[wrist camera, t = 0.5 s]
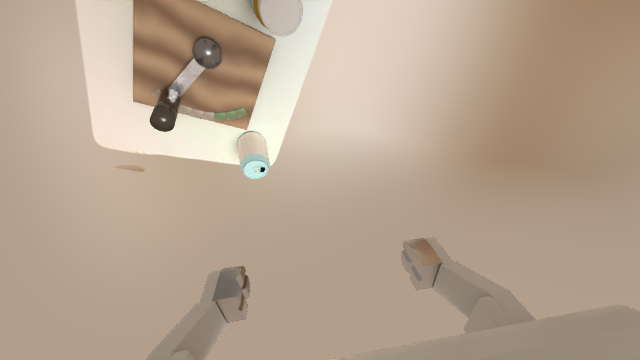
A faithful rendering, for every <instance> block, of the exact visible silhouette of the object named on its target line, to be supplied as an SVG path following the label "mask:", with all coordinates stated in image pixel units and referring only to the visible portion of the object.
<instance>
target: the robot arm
mask: <svg viewBox="0 0 640 360" xmlns="http://www.w3.org/2000/svg"><path fill="white" fill-rule="evenodd" d="M403 247H404V250H403V251H402V254H401V259H402V264H403V266H404V268H405V270H406V271H407V272H409V273H410V280H411V281H412V283H413V285H414V287H415V289H416V290H419V289H427V288H433V289H434V290H435V291H436V292H438V293H439V294H440V295H441V296H443V297H444V298H445V299H446V300H447V301H449V302H450V303H451V304H452V305H454V306H455V307H456V308H457V309H458V310H460V311H461V312H462V313H463V314H465V315H466V316H467V317H468V318H469V319H468V320H467V322H466V324H465V326H464V330H465V332H466V333H465V334H460V335H455V336H449V337H444V338H439V339H434V340H429V341H423V342H418V343H413V344H408V345H402V346H397V347H392V348H387V349H381V350H376V351H371V352H366V353H361V354H355V355H350V356H345V357H340V358H334V359H329V360H640V311H638V310H636V309H633V308H630V307H628V306H624V305H611V306H606V307H601V308H596V309H591V310H585V311H580V312H575V313H570V314H564V315H559V316H555V317H549V318H544V319H538V320H536V319H535V318H534V317H533V316H532V315H531V314H530V313H529V312H528V311H527V309H526V308H525V307H524V306H523V305H522V304H521V303H520V302H519V301H518V300H517V299H516V297H515V296H514V295H513V294H512V293H511V292H510V291H508V290H507V289H505V288H503V287H501V286H500V285H498V284H496V283H494V282H492V281H491V280H489V279H487V278H485V277H484V276H482V275H480V274H478V273H476V272H475V271H473V270H471V269H469V268H468V267H466V266H464V265H462V264H460V263H459V262H454V261H453V260H452V259H451V257H450V256H449V255H448V254H447V252H446V251H445V250H444V248H443V247H442V246H441V245H440V243H439V242H438V241H437V239H436V238H435V237H428V238H420V239H414V240H408V241H405V242H404V243H403ZM245 272H246V270H245V267H244V266H240V267H231V268H223V269H216V270H211V271H210V273H209V275H208V278H207V281H206V284H205V287H204V290H203V293H202V296H201V299H200V302H199V304H195V306H194V307H193V308H192V309H191V310H190V311H189V312H188V313H187V314H186V315H185V316H184V317H183V319H182V320H181V321H180V322H179V323H178V324H177V325H176V326H175V327H174V329H172V330H171V331H170V333H169V334H168V335H167V336H166V337H165V338H164V339H163V340H162V341H161V342H160V343H159V344H158V345H157V347H156V348H155V349H154V350H153V351H152V352H151V353H150V354H149V355H148V357H147V359H146V360H204V359H205V358H206V356H207V355H208V353H209V352H210V350H211V349H212V347H213V346H214V344H215V343H216V341H217V339H218V338H219V336H220V335H221V333H222V332H223V330H224V329H225V327H226V326H227V323H229V322H234V321H239V320H244V319H246V315H247V308H248V304H247V301H246V299H247V298H248V297H249V293H250V282H249V278H248V276H247V275H245Z"/></svg>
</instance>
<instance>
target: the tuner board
mask: <svg viewBox="0 0 640 360" xmlns="http://www.w3.org/2000/svg"><path fill="white" fill-rule="evenodd" d="M200 37H208V38H211V39H213V40H214V41H215V42H216V43H217V44H218V45H219V46H220V48H221V52H222V61H221V63H220V65H219V66H218V67H216V68H214V69H207V68H205V69H204V70H203V72H202V73H201V74H200V75H199V76H198V77H197V79H196V80H195V81H194V82H193V83H192V84H191V85H190V87H189V88H188V89H187V90H186V91H185V92H184V94H183V95H182V96H181V102H180V106H179V110H178V113H182V114H186V115H188V116H189V115H190V116H192V117H196V118H200V119H205V120H210V121H214V122H217V123H221V124H225V125H229V126H233V127H237V128H241V129H245V130H247V127H248V124H249V121H250V118H251V115H252V112H253V109H254V106H255V103H256V99H257V96H258V93H259V90H260V87H261V84H262V81H263V78H264V75H265V72H266V69H267V66H268V62H269V59H270V56H271V53H272V50H273V47H274V44H275V41H276V40H275V39H274V38H272V37H270V36H268V35H266V34H264V33H262V32H260V31H258V30H256V29H254V28H251V27H249V26H247V25H245V24H243V23H241V22H239V21H237V20H235V19H233V18H231V17H229V16H227V15H225V14H222V13H220V12H218V11H216V10H214V9H212V8H210V7H208V6H206V5H204V4H202V3H200V2H198V1H195V0H134V17H133V101H134V102H138V103H142V104H146V105H150V106H154V107H155V105H156V103H157V100H158V98H159V95H160V93H161V91H162V90H164V89H167V88H168V87H169V86H170V85H171V84H172V82H173V81H174V80H175V79H176V78H177V76H178V75H179V74H180V73H181V71H182V70H183V69H184V68H185V67H186V65H187V64H188V63H189V62H190V61H191V59H192V58H193V53H192V48H193V45H194V42H195V41H196V40H197V39H198V38H200Z"/></svg>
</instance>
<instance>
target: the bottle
mask: <svg viewBox="0 0 640 360" xmlns="http://www.w3.org/2000/svg"><path fill="white" fill-rule="evenodd" d="M250 3H251V6H252V8H253V10H254V12H255V14H256V16H257V18H258V19H259V21H260V22H261V23H262V25H264V26H265V27H266V28H267V29H268V30H270V32H272V33H274V34H276V35H279V36H288V35H290V34H292V33H294V32H295V31H296V30H297V29H298V27H299V25H300V23H301V20H302V15H303V8H302V3H301V0H250Z"/></svg>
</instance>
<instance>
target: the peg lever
mask: <svg viewBox="0 0 640 360" xmlns="http://www.w3.org/2000/svg"><path fill="white" fill-rule="evenodd" d="M192 53H193V58H192V59H191V61H190V62H189V63H188V64H187V65H186V67H185V68H184V69H183V70H182V71H181V73H180V74H179V75H178V76H177V78H176V79H175V80H174V81H173V82H172V84H171V85H170V86H169V87H168V88H167V89H164V90H162V91H161V93H160V95H159V98H158V100H157V103H156V105H155V107H154V110H153V112H152V115H151V117H150V123H151V125H152V126H153V127H154V128H155V129H157V130H159V131H163V132H167V131H170V130H172V129H173V128H174V125H175V121H176V118H177V114H178V110H179V106H180V102H181V96H182V95H183V94H184V92H185V91H186V90H187V89H188V88H189V87H190V85H191V84H192V83H193V82H194V81H195V80H196V79H197V77H198V76H199V75H200V74H201V73H202V72H203V70H204V69H205V68H207V69H214V68H216V67H218V66H219V65H220V63H221V61H222V52H221V48H220V46H219V45H218V44H217V43H216V42H215V41H214V40H213V39H211V38H208V37H200V38H198V39H197V40H196V41H195V42H194V45H193V48H192Z"/></svg>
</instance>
